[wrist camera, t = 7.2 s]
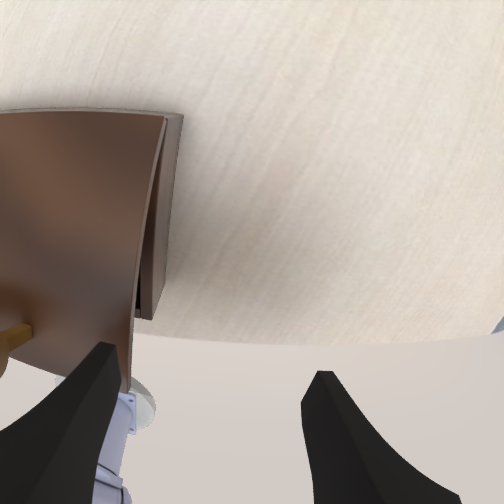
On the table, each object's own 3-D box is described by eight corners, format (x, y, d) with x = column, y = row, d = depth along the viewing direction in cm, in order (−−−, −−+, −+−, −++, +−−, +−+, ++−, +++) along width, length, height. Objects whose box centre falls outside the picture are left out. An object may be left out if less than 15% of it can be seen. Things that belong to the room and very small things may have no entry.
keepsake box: (165, 283, 20) (152, 321, 17) (1, 250, 18) (-26, 275, 15) (184, 114, 15) (168, 118, 12) (-7, 111, 13) (-44, 120, 10)
